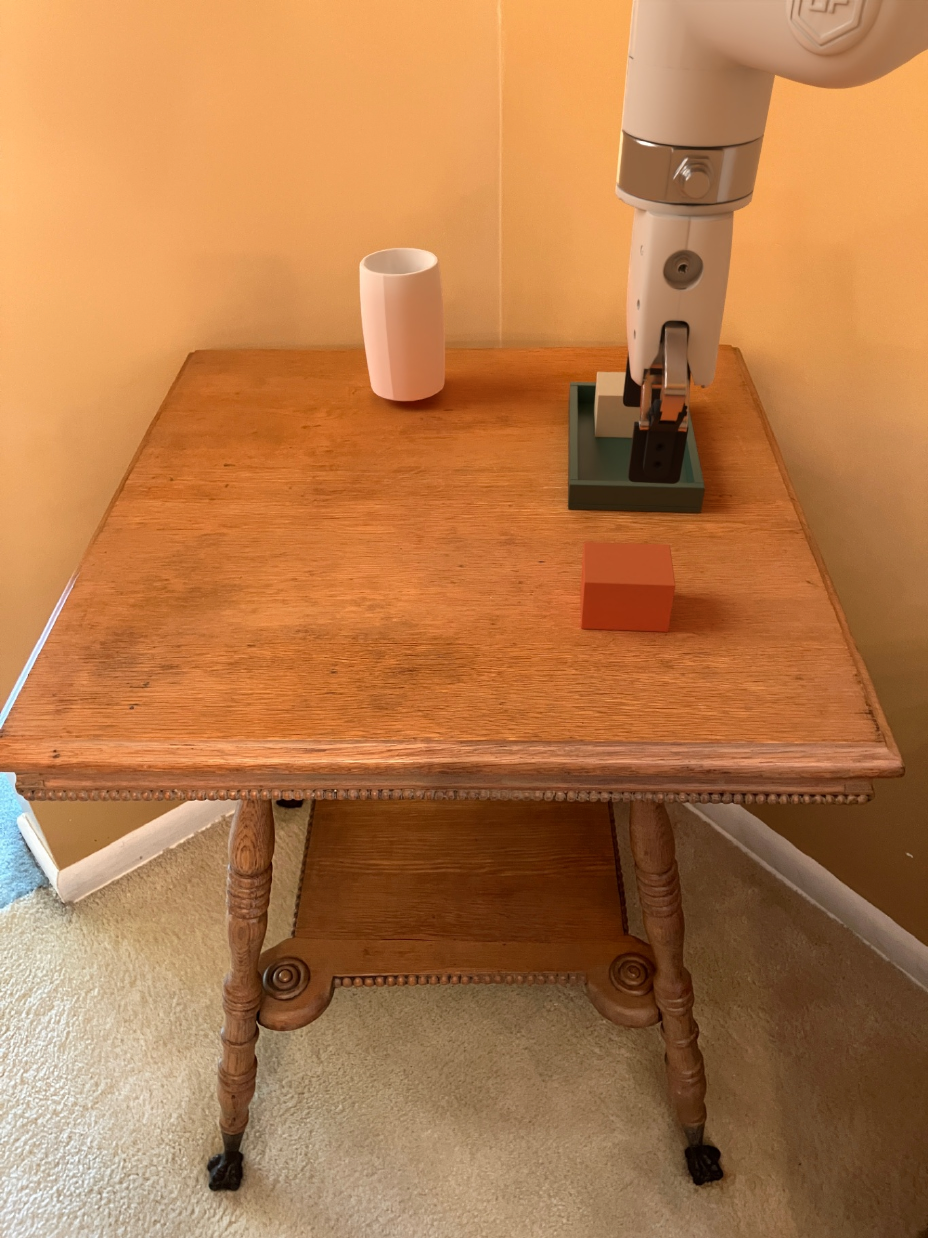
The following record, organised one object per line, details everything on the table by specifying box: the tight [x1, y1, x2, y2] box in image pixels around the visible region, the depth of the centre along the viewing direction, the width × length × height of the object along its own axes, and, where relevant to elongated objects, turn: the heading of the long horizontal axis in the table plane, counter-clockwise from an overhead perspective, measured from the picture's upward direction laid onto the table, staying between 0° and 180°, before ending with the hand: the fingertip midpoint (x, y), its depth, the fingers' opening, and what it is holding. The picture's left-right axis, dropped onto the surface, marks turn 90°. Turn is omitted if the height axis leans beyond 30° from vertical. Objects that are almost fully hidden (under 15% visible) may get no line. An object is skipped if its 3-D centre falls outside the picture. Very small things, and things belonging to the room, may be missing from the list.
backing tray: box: [567, 381, 706, 514], centre depth 87 cm, size 20×12×3 cm, turn 175°
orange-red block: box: [579, 541, 676, 633], centre depth 69 cm, size 5×6×4 cm
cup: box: [359, 247, 446, 402], centre depth 94 cm, size 8×8×14 cm
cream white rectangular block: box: [594, 371, 640, 438], centre depth 90 cm, size 5×6×4 cm
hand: (648, 440), depth 61 cm, fingers open, 9 cm apart
